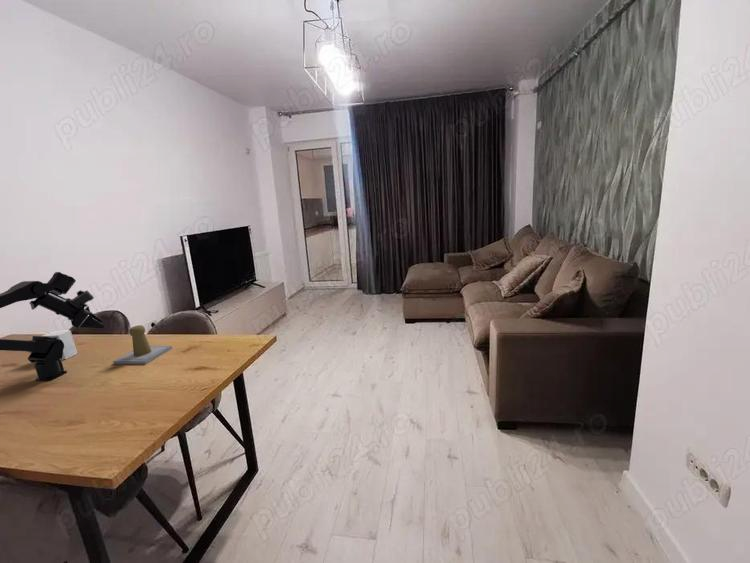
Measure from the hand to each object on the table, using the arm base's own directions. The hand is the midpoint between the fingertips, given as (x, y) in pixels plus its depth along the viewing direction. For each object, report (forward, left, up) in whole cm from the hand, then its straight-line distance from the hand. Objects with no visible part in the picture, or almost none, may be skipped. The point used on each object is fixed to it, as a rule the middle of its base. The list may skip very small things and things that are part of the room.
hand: (102, 324), depth 142 cm
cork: (+1, -14, -12) cm, 19 cm away
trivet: (+1, -14, -14) cm, 20 cm away
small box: (0, +23, -14) cm, 27 cm away
